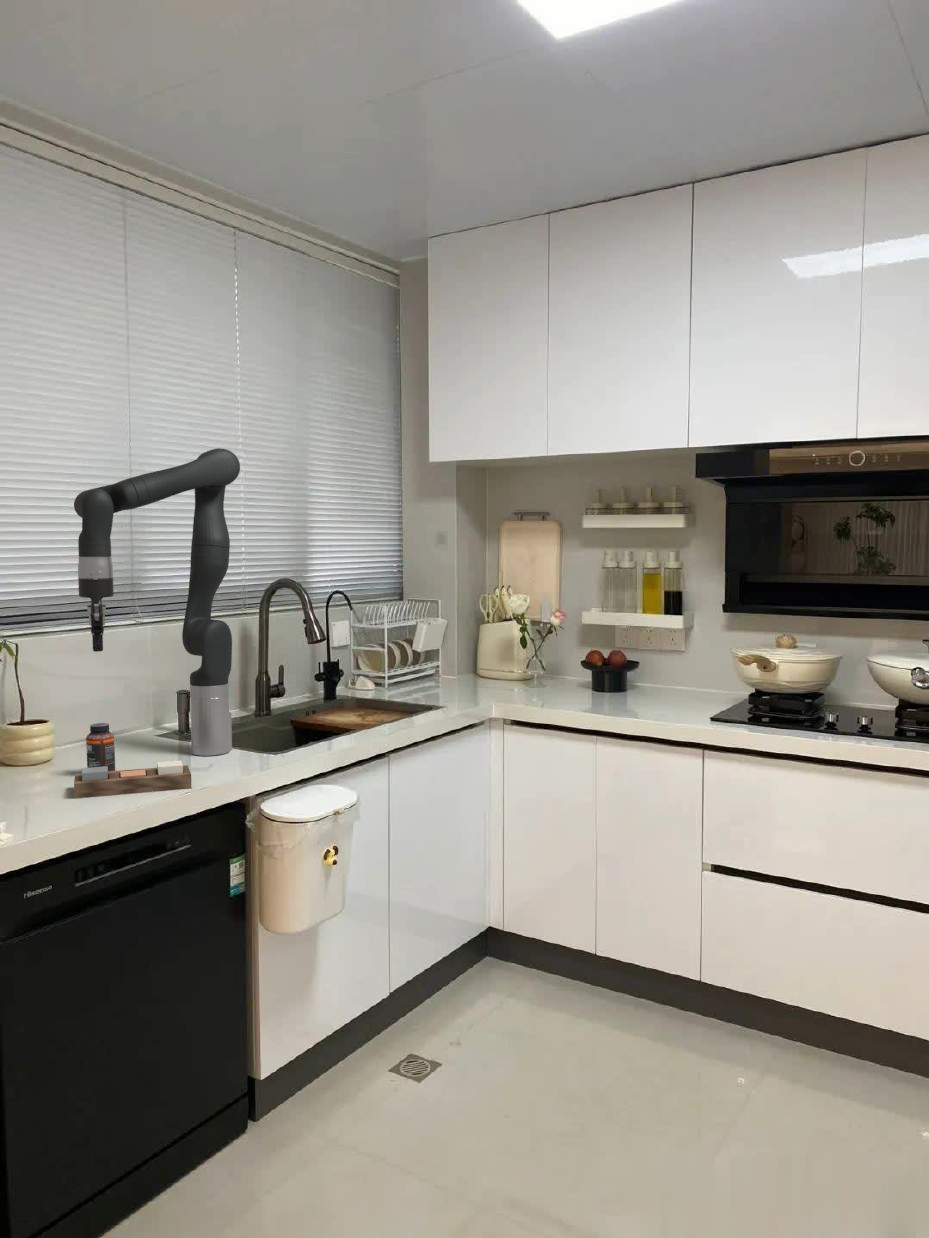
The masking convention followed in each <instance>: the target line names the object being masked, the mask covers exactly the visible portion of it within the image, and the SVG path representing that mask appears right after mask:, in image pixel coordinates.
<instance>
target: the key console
mask: <svg viewBox="0 0 929 1238" xmlns="http://www.w3.org/2000/svg"><path fill="white" fill-rule="evenodd" d="M133 770H145V772H146V776H141V777H129V778H121V777H120V772H121V771H133ZM190 787H191V788H192V772H191V769H190V768H189V765H187V764H186V765H185V764H184V765H183V773H178V774H166V775H158V773H157V767H149V768H148V767H147V768H136V769H124V770H121V769H120V770H115V771H108V779H105V780H93V781H82V773H75V774H74V780H73V793H74V794H73V795H74V797H73V798H74V799H82V798H84V797H85V798H93V797H94V798H95V797H104V796H117V795H130V794H138V793H139V794H140V793H149V792H150V793H151V792H152V791H153V792H162V791H163V792H164V791H175V790H185V788H187V789H191V788H190ZM153 792H152V793H153ZM85 798H84V799H85Z"/></svg>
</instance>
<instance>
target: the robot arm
mask: <svg viewBox="0 0 929 1238" xmlns="http://www.w3.org/2000/svg"><path fill="white" fill-rule="evenodd" d="M240 471H241V463H240V460H239V458H238V457H237V455H236V454H235V453H234V452H232V451H231V450H229V449H226V448H220V447H219V448H213V449H210V450H206V451H204V452H203V453H201V454H200V455H199V456H197V458H196V459H195V460H191V461H189V462H186V463H183V464H180V465H177V466H173V467H170V468H165V469H161V470H155V471H151V472H148V473H147V472H146V473H143V474H139V475H137V476H132V477H129V478H125V479H123V480H120V481H117V482H115V483H112V484H108V485H103V486H98V487H95V488H90V489H86V490H84V491H81V492H79V494H77V495H76V497H75V499H74V502H73V507H74V508H73V509H74V511H75V513H76V514H77V516H79V517H80V518H81V532H80V533H79V535H78V539H77V540H78V545H77V546H78V549H77V550H78V563H77V578H78V579H77V580H78V585H77V586H78V596H79V598H85V599H86V598H89V599H90V603H91V604H88V605H87V607H86V608H87V613H88V625H89V626H90V627H91V628H90V629H91V630H90V634H91V636H92V651H93V652H95V653H96V652H103V650H104V640H103V639H104V633H105V631H104V626H105V625H106V616H105V615H106V613H107V611H106V610H107V609H106V608H107V606H106V604H103V601H102V600H103V598H112V597H113V596H114V595H115V593H114V591H115V590H114V568H113V567H114V566H113V565H114V564H113V560H112V542H111V534H112V529H113V523H114V514H117V513H118V512H121V511H129V510H134V509H137V508H140V507H145V506H147V505H150V504H154V503H156V502H157V503H158V502H160V501H162V500H165V499H168V498H170V497H174V496H176V495H179V494H182V493H184V492H188V491H192V490H194V512H193V522H192V523H193V525H192V534H191V535H192V537H191V543H190V545H191V546H190V565H189V566H190V567H189V568H190V571H189V581H188V594H187V601H186V608H185V613H184V620H183V624H182V632H181V633H182V635H181V636H182V637H181V640H182V645H183V647H184V649H185V651H186V652H187V653H188V654H190V655H191V656H197V657H198V656H199V657H201V665H200V667H199V668H198V669H197V670H194V671H192V672H191V673H190V675H189V692H190V693H189V695H190V736H191V738H190V740H191V742H190V744H191V754H192V755H195V756H200V757H201V756H207V757H208V756H220V755H224V754H228V753H229V752H230V751H231V750H232V749H233V731H232V730H233V729H232V728H233V727H232V723H233V722H232V712H230V697H229V693H230V691H229V677H230V674H231V672H232V671H231V670H232V660H233V659H232V658H233V657H232V655H233V654H232V653H233V637H232V636H233V635H232V631H231V629H230V627H229V625H228V624H227V623H226V622H225V621H223V620H220V619H212V618H211V617H212V607H213V601H214V597H215V596H216V592H217V590H218V589H219V587H220V585H221V584H222V582H223V580H224V578H225V576H226V574H227V572H228V569H229V563H230V548H231V546H230V545H231V543H230V541H231V540H230V534H229V529H228V526H227V521H226V517H225V511H224V510H225V509H224V508H225V507H224V505H225V504H224V502H225V492H226V487H227V486H228V485H230V484H232V483H233V482H234V481H236V479H237V478H238V476H239V475H240Z"/></svg>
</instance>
